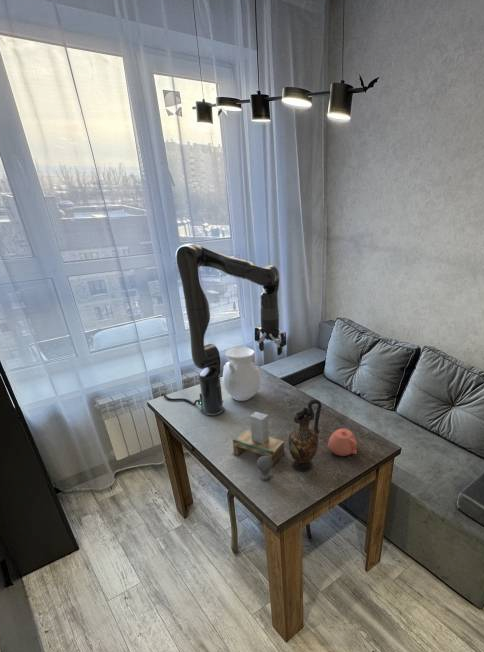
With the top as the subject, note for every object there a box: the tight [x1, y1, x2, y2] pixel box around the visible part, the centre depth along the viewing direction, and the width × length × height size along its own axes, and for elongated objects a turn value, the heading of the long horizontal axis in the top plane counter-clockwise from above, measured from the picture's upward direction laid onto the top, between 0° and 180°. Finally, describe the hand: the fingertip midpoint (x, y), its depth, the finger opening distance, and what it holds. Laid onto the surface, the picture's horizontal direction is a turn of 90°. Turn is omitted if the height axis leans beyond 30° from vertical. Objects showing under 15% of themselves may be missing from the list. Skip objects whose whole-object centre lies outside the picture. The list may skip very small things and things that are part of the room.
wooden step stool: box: [232, 429, 285, 466], centre depth 163 cm, size 18×10×8 cm, turn 67°
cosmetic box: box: [249, 411, 270, 444], centre depth 159 cm, size 6×4×12 cm
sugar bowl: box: [327, 428, 358, 457], centre depth 166 cm, size 12×14×10 cm
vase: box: [287, 399, 322, 472], centre depth 151 cm, size 12×12×30 cm
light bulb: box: [256, 455, 274, 480], centre depth 149 cm, size 6×6×10 cm
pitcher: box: [222, 346, 261, 402], centre depth 198 cm, size 19×18×25 cm
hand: (270, 352), depth 172 cm, fingers open, 8 cm apart
